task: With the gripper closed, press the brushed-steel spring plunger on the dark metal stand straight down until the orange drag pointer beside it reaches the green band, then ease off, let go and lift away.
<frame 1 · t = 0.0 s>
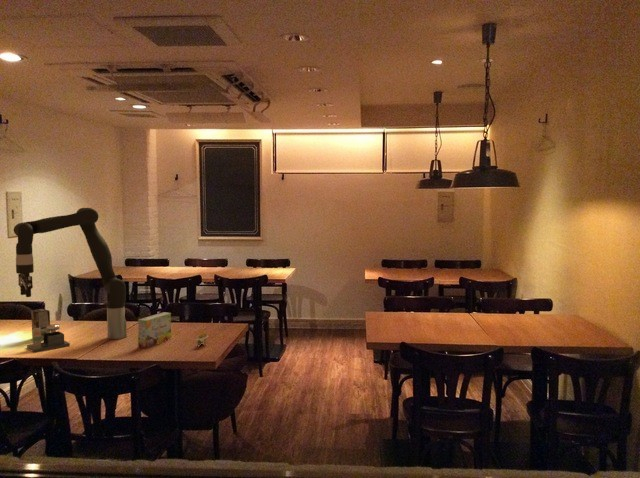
hand: (25, 295, 256), 29 cm above the table, tool pointing down, fingers open, 8 cm apart
coffee box: (41, 339, 286), on the table
drag pointer: (37, 333, 266), point 8 cm above the table, slide at 0.0 cm
plunger: (47, 330, 269), point 9 cm above the table, slide at 0.0 cm
pale green irregular piece: (202, 346, 274), on the table
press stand: (53, 346, 272), on the table
snack box: (155, 343, 278), on the table
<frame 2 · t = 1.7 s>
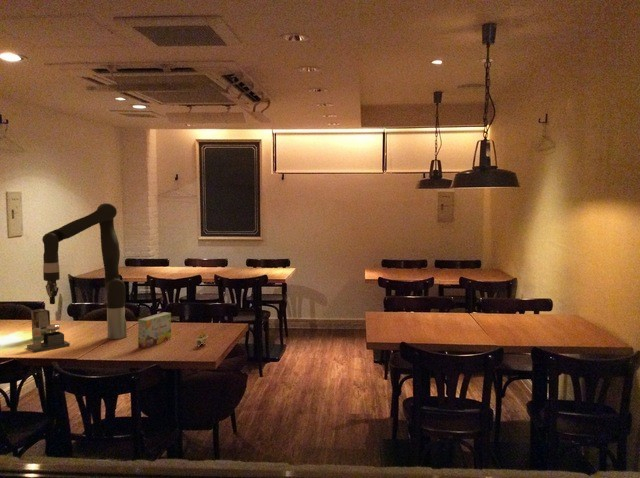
hand: (52, 303, 270), 22 cm above the table, tool pointing down, fingers closed
nothing on the table moved.
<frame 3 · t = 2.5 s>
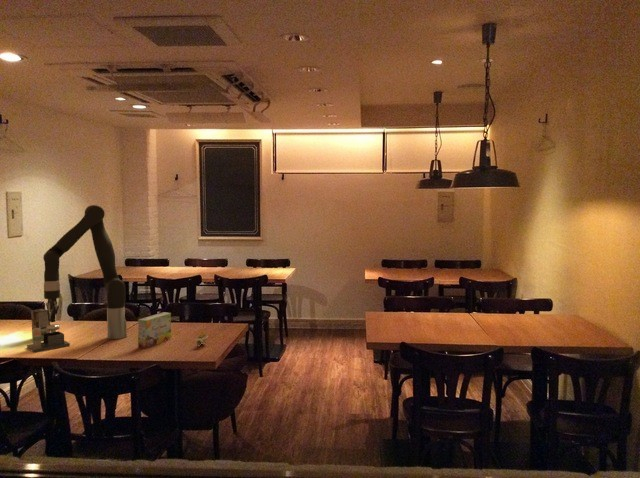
hand: (52, 321, 271), 13 cm above the table, tool pointing down, fingers closed
nothing on the table moved.
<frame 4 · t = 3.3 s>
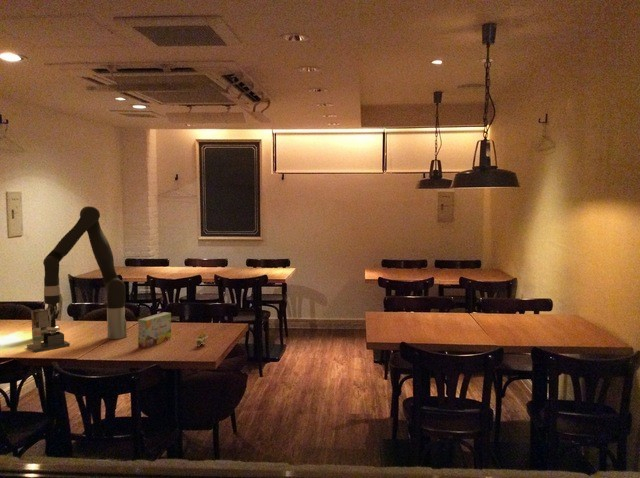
hand: (53, 326, 271), 10 cm above the table, tool pointing down, fingers closed
drag pointer: (37, 333, 266), point 8 cm above the table, slide at -0.1 cm, touching plunger
plunger: (47, 331, 269), point 8 cm above the table, slide at -0.6 cm, touching drag pointer, gripper
everything else where it was.
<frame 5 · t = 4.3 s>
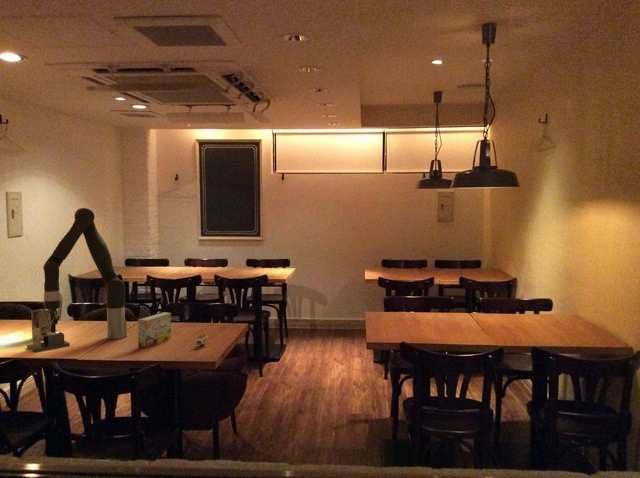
hand: (53, 331, 271), 8 cm above the table, tool pointing down, fingers closed
drag pointer: (37, 339, 266), point 5 cm above the table, slide at -2.9 cm, touching plunger
plunger: (47, 336, 269), point 6 cm above the table, slide at -3.4 cm, touching drag pointer, gripper
everything else where it was.
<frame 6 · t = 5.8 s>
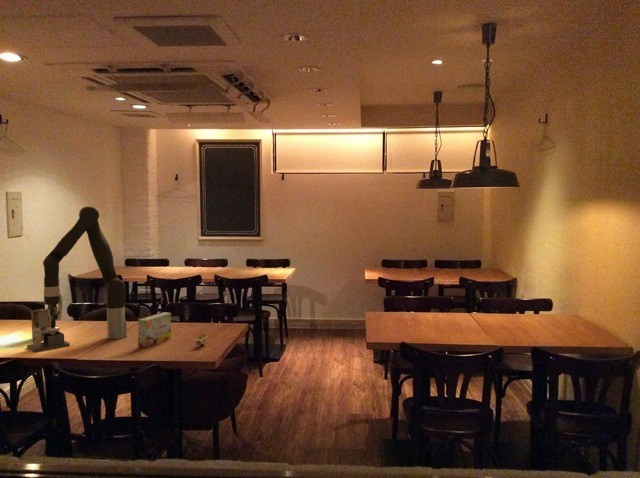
hand: (53, 327, 271), 10 cm above the table, tool pointing down, fingers closed
drag pointer: (37, 339, 266), point 5 cm above the table, slide at -2.9 cm
plunger: (47, 331, 269), point 8 cm above the table, slide at -1.0 cm, touching gripper
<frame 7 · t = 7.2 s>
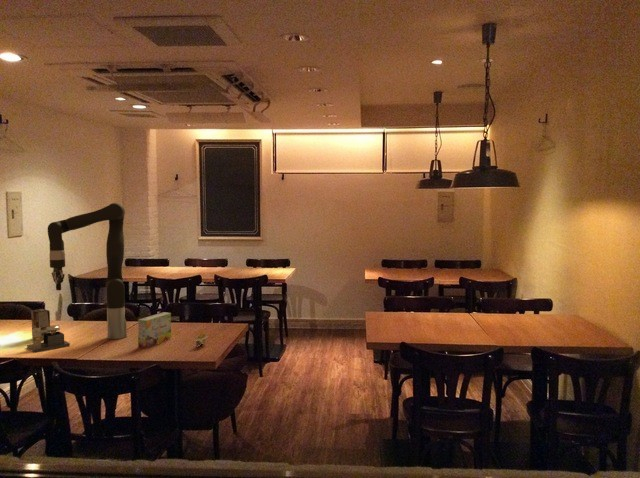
hand: (58, 290, 281), 28 cm above the table, tool pointing down, fingers closed
plunger: (47, 331, 269), point 8 cm above the table, slide at -0.6 cm
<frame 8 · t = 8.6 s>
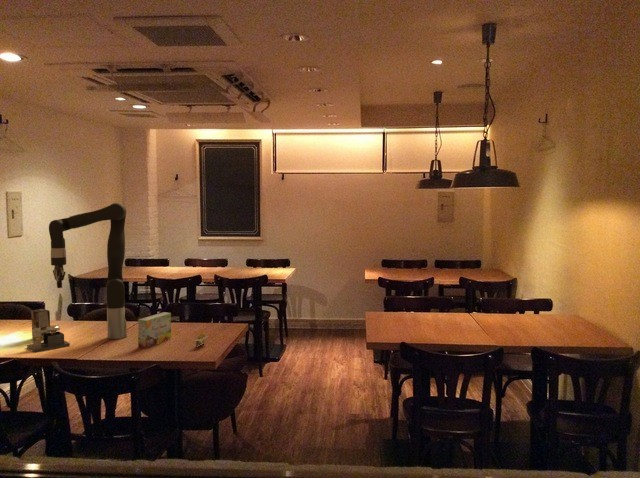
hand: (59, 287, 282), 29 cm above the table, tool pointing down, fingers closed
at the end: drag pointer slide at -2.9 cm; the gripper is holding nothing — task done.
